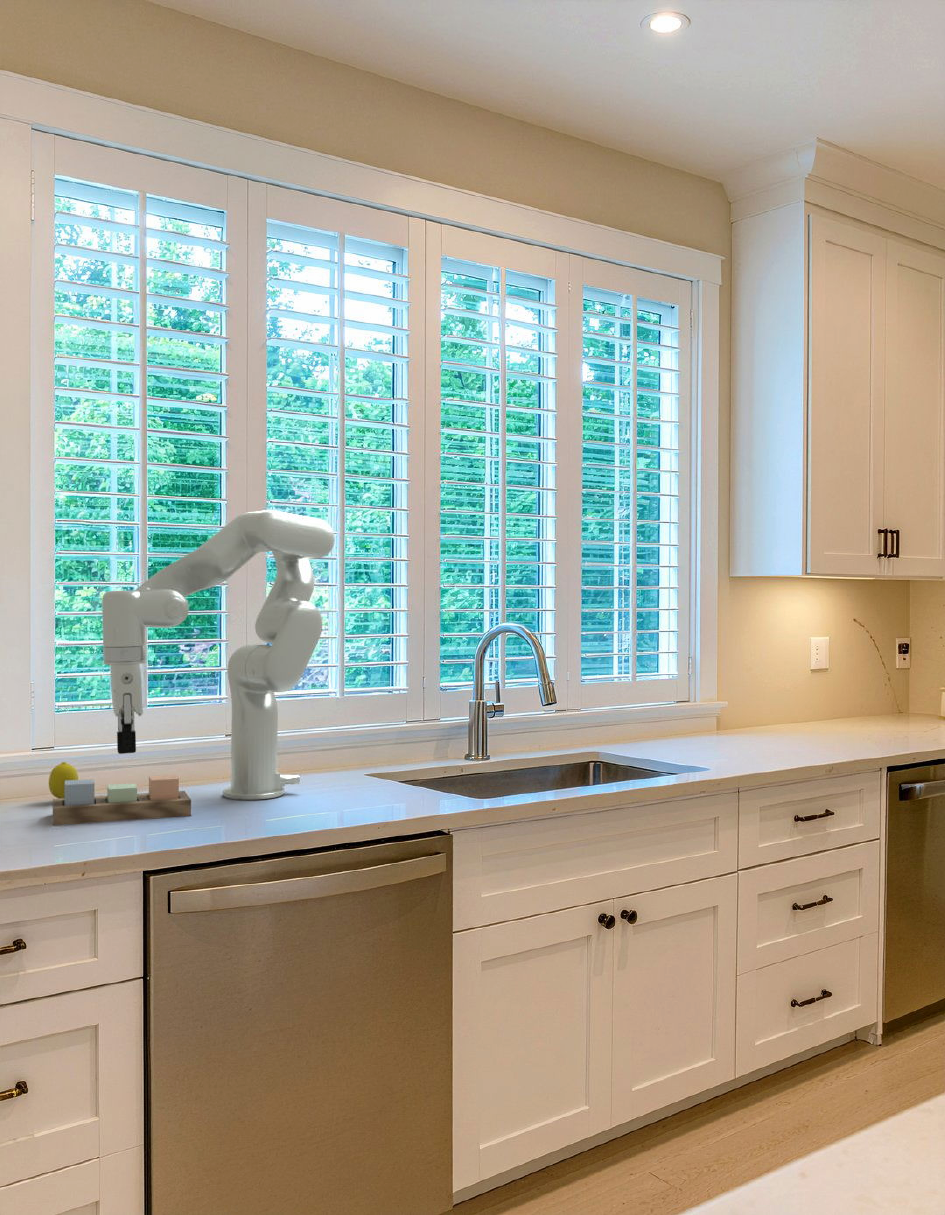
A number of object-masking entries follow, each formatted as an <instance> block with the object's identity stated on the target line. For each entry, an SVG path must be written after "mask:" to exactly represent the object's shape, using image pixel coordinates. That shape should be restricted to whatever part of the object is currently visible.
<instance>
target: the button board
mask: <svg viewBox="0 0 945 1215" xmlns="http://www.w3.org/2000/svg"><path fill="white" fill-rule="evenodd" d="M177 817H178V818H179V817H192V799H191V798H190V796H189V794H188V793H187V792H186V791H185V790H179V799H164V800H149V792H144V793H137V801H132V802H116V803H107V795H94V804H85V805H69V806H65V798H52V826H62V825H64V826H65V825H75V824H76V825H77V824H78V825H79V824H94V823H107V822H120V821H134V820H135V821H137V820H147V819H148V820H150V819H151V820H152V819H164V818H177Z"/></svg>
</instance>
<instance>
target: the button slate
mask: <svg viewBox="0 0 945 1215" xmlns="http://www.w3.org/2000/svg"><path fill="white" fill-rule="evenodd" d="M94 796H95V780H94V778H92V779H91V778H89V779H78V780H67V781H65V806H69V805H85V804H94Z"/></svg>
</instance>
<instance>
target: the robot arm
mask: <svg viewBox="0 0 945 1215" xmlns="http://www.w3.org/2000/svg"><path fill="white" fill-rule="evenodd" d="M334 546H335V534H334V531H333V529H332V527H331V526H330V525H329V524H328V523H327V522H326V521H325V520H323V519H320V518H317V517H310V516H304V515H298V514H295V513H291V512H290V513H289V512H283V511H278V510H272V509H271V510H267V509H266V510H257V511H248V512H245V513H242V514H239V515H237V516H236V517H235V518H233V519H232V520H231V521H229V522H228V523H227V524H226V525H224V526H223V527H222V528H221V529H220V530H219V531H217V532H216V533H215V534H214V535H212V536H211V537H210V538H209V539H208V540H206V541H205V542H204V543H202V544H201V546H199V547H197V548H196V549H195V550H193V551H191V552H190V553H187V554H186V555H184V556H182V557H181V558H179V559H178V560H176V561H174V562H172V563H170V564H169V565H166V566H165V567H164V568H162V569H160V570H159V571H157V572H155V573H154V574H153V575H151V576H150V577H149V578H148V579H147V580H145V582H143V583H142V584H141V585H139V586H138V587H137V588H136V589H135V590H109V591H106V592H105V593H104V594H103V596H102V599H101V608H102V609H101V610H102V618H101V619H102V646H103V647H102V651H103V652H102V653H103V655H102V656H103V660H102V661H103V665H105V666H110V667H109V668H110V669H109V670H110V693H111V703H112V708H113V709H112V711H113V713H114V715H115V717H116V718H117V730H118V731H116V735H117V736H116V739H117V740H116V742H117V744H116V746H117V753H118V754H120V755H122V754H123V755H124V754H134V753H136V752H137V741H136V740H137V739H136V736H137V735H136V730H135V714H137V715H138V717H142V716H143V714H144V709H143V708H144V707H143V691H142V690H143V687H142V684H143V682H142V672H141V665H142V664H145V663H147V662H146V659H147V658H146V628H159V629H160V628H161V629H163V628H164V629H167V628H168V629H169V628H170V629H171V628H174V627H177V626H179V625H180V624H182V623H183V622H184V621H185V620H186V618H187V617H188V615H189V612H190V606H189V605H190V604H189V602H188V600H187V598H186V597H188V596H191V595H193V594H194V593H197V592H199V591H200V592H201V591H203V590H207V589H211V588H214V587H216V586H218V585H220V584H222V583H224V582H226V581H227V580H229V578H231V577H232V576H233V575H234V574H236V573H237V572H238V571H239V570H240V569H241V568H242V567H243V566H245V565H246V564H247V562H249V561H251V560H252V558H254V557H255V556H256V555H257V554H259V553H262V552H263V553H265V552H271V553H272V555H273V558H274V561H275V565H276V577H275V580H274V582H273V583H272V584H273V585H272V587H271V589H270V590H269V593H268V595H267V596H266V599H265V601H264V602H263V604H262V606H261V609H260V611H259V612H258V615H257V616H256V621H255V624H254V629H255V633H256V635H257V637H258V638H259V639H260V640H261V641H263V642H265V643H266V644H247V645H243V646H240V647H238V648H237V649H236V650H235V651H234V652H233V653H231V654H232V655H230V657H229V660H228V664H227V679H228V684H229V689H230V701H231V702H230V703H231V725H230V726H231V729H230V730H231V732H230V734H231V736H230V737H231V739H230V740H231V743H230V750H231V751H230V786H229V787H226V788H223V790H222V795H223V797H225V798H228V799H232V800H246V801H247V800H248V801H249V800H250V801H251V800H252V801H253V800H265V799H267V800H268V799H274V798H278V797H281V796H283V795H285V788H284V787H285V785H300V783H301V782H300V781H301V780H300V778H301V777H300V775H299V774H293V775H292V774H281V773H280V772H279V771H278V727H279V726H278V722H279V717H278V716H279V712H278V711H279V709H278V702H277V699H276V695H275V693H285V692H287V691H290V690H292V689H293V688H294V687H295V686H296V685H297V684H298V683H299V682H300V680H301V678H302V676H303V675H304V673H305V670H306V669H307V666H308V664H309V662H310V660H311V658H312V656H313V653H314V652H315V649H316V648H317V645H318V643H319V641H320V638H321V635H322V631H323V618H322V615H321V612H320V611H319V609H318V608H317V606H315V605H314V603H311V602H310V600H311V599H312V598H311V597H312V595H313V593H314V589H315V576H314V572H313V568H312V565H311V562H310V560H317V559H322V558H325V557H326V556H327V555H329V554H330V553H331V552H332V550H333V548H334ZM269 644H271V645H269Z"/></svg>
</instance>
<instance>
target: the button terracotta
mask: <svg viewBox="0 0 945 1215" xmlns="http://www.w3.org/2000/svg"><path fill="white" fill-rule="evenodd" d="M179 787H180V779H179V777H178V775H177V774H165V775H149V776H148V793H149V800H164V799H179V791H180V790H179V789H180V788H179Z"/></svg>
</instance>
